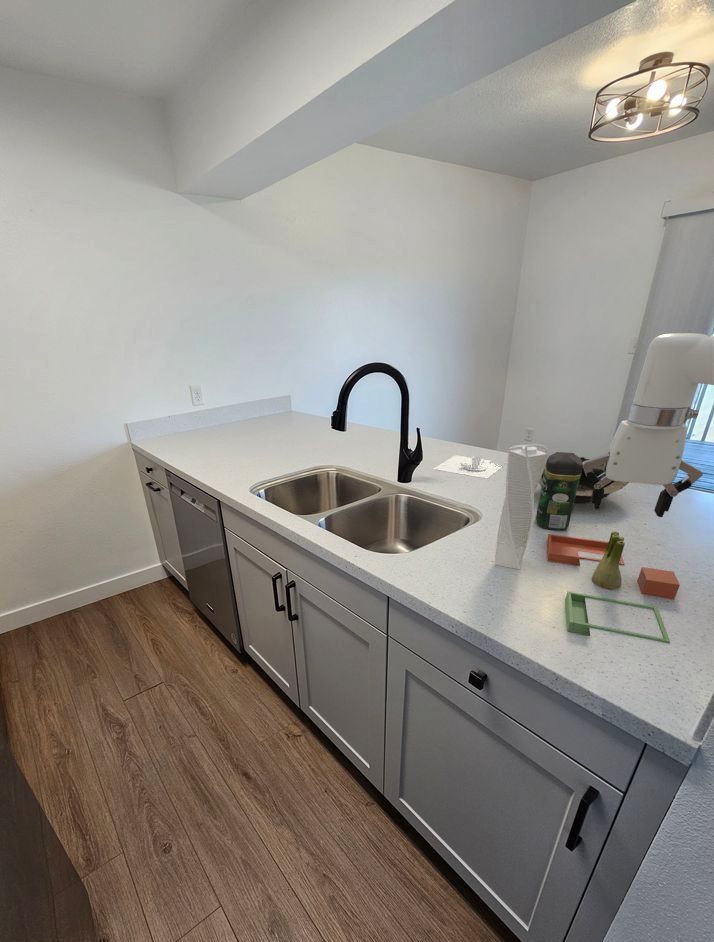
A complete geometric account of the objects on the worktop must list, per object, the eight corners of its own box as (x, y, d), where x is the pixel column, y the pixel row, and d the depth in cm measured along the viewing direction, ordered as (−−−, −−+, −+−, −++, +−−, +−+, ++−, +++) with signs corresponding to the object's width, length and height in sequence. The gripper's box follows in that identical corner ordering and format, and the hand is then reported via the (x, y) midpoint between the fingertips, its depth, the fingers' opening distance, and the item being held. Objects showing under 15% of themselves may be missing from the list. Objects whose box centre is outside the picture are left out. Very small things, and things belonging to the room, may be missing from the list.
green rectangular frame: (653, 616, 79) (657, 606, 78) (666, 651, 71) (670, 641, 70) (565, 600, 85) (567, 591, 84) (567, 631, 77) (570, 621, 76)
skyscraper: (524, 574, 94) (550, 446, 81) (488, 566, 97) (507, 443, 85) (528, 557, 100) (552, 436, 87) (493, 551, 103) (512, 434, 91)
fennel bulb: (594, 579, 91) (609, 527, 85) (622, 587, 88) (639, 534, 82) (585, 590, 87) (600, 537, 82) (613, 600, 84) (630, 545, 79)
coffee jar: (534, 514, 120) (547, 448, 112) (566, 518, 117) (582, 450, 109) (534, 529, 112) (549, 459, 104) (569, 533, 109) (587, 461, 101)
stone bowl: (600, 482, 138) (609, 454, 133) (636, 520, 117) (648, 489, 112) (517, 480, 142) (523, 453, 137) (538, 517, 121) (546, 486, 117)
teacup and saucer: (457, 469, 158) (459, 458, 156) (466, 463, 163) (467, 452, 161) (481, 473, 153) (483, 461, 151) (490, 466, 158) (491, 456, 156)
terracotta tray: (615, 550, 101) (617, 542, 100) (621, 572, 92) (624, 564, 91) (546, 541, 106) (548, 533, 105) (547, 561, 98) (549, 553, 97)
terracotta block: (665, 593, 85) (673, 571, 83) (671, 607, 81) (680, 585, 79) (634, 588, 87) (641, 566, 85) (638, 601, 83) (646, 579, 81)
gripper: (715, 413, 71) (679, 509, 79) (593, 409, 78) (571, 497, 86) (731, 423, 65) (690, 525, 73) (597, 418, 72) (573, 512, 80)
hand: (626, 510), depth 80 cm, fingers open, 9 cm apart
